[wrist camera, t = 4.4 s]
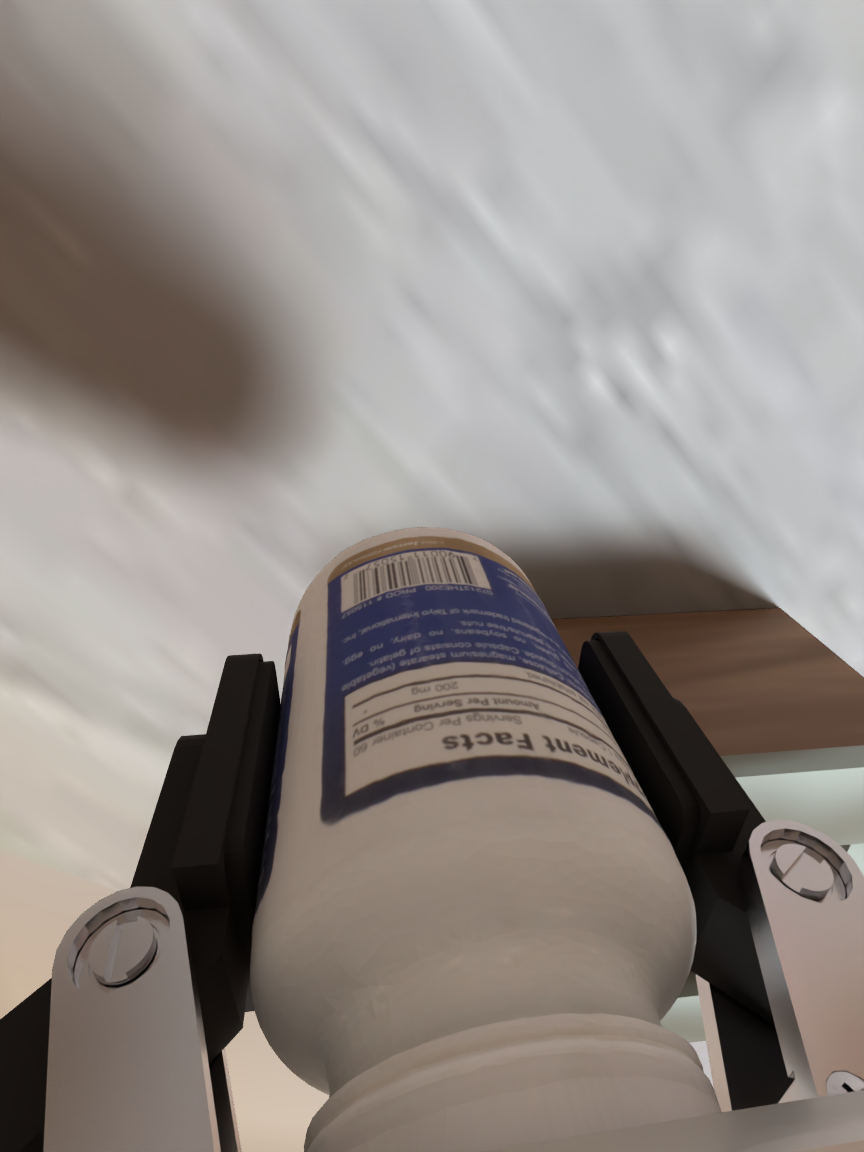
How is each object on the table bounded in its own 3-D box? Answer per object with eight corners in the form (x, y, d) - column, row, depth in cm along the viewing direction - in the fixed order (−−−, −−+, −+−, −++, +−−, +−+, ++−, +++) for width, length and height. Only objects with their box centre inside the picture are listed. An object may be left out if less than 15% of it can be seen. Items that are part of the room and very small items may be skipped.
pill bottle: (438, 752, 15) (555, 1400, 7) (243, 661, 13) (68, 1443, 5) (587, 600, 13) (995, 1228, 5) (390, 466, 11) (527, 1169, 3)
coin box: (487, 622, 23) (548, 792, 16) (780, 608, 25) (962, 759, 17) (472, 864, 30) (511, 1064, 22) (704, 843, 31) (812, 1027, 24)
